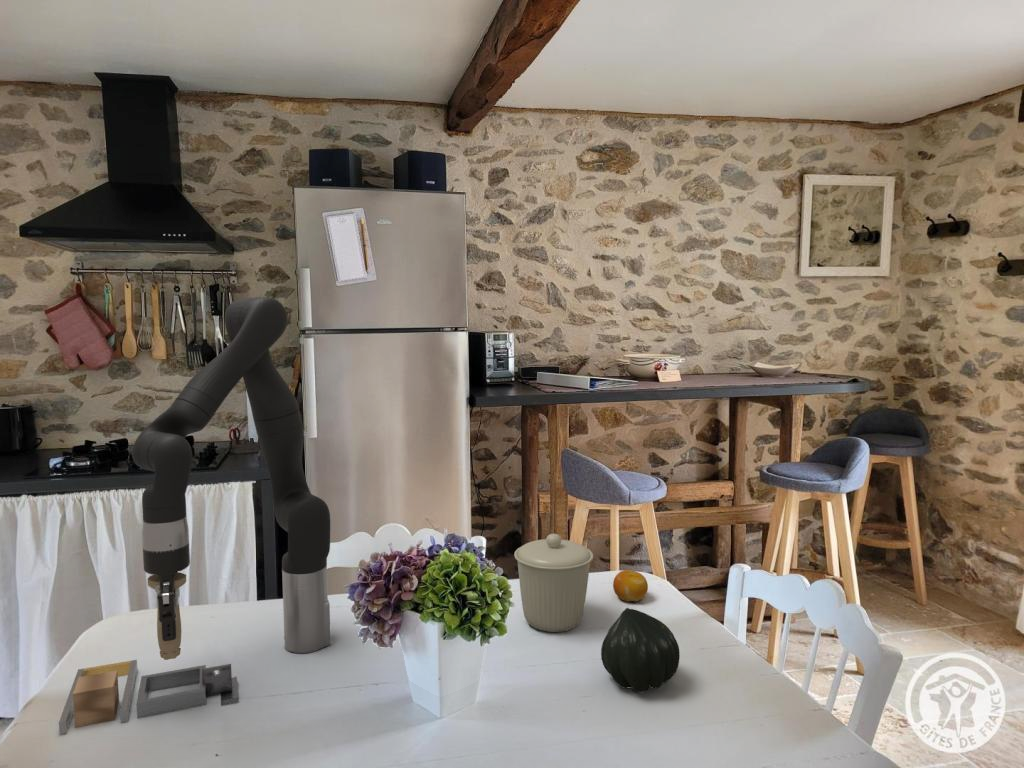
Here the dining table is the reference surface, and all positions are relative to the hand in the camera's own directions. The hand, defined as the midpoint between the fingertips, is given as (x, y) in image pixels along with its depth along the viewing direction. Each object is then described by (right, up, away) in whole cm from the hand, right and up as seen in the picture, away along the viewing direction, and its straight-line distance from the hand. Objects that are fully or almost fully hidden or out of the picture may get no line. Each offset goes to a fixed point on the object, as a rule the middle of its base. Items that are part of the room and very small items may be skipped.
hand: (170, 633), depth 130 cm
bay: (-13, -13, 0) cm, 18 cm away
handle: (0, -4, 0) cm, 4 cm away
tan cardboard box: (-11, -13, -4) cm, 17 cm away
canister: (+72, -10, +36) cm, 81 cm away
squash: (+87, -13, +10) cm, 89 cm away
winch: (+3, -13, +2) cm, 14 cm away
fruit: (+92, -9, +50) cm, 105 cm away
